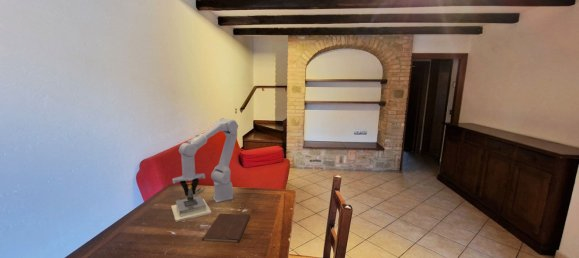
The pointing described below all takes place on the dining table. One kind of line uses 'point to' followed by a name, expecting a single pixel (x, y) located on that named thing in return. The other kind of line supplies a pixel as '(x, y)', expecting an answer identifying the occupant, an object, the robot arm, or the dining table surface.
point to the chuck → (190, 206)
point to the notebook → (227, 228)
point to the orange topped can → (190, 191)
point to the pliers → (195, 193)
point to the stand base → (178, 218)
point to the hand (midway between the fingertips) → (190, 194)
